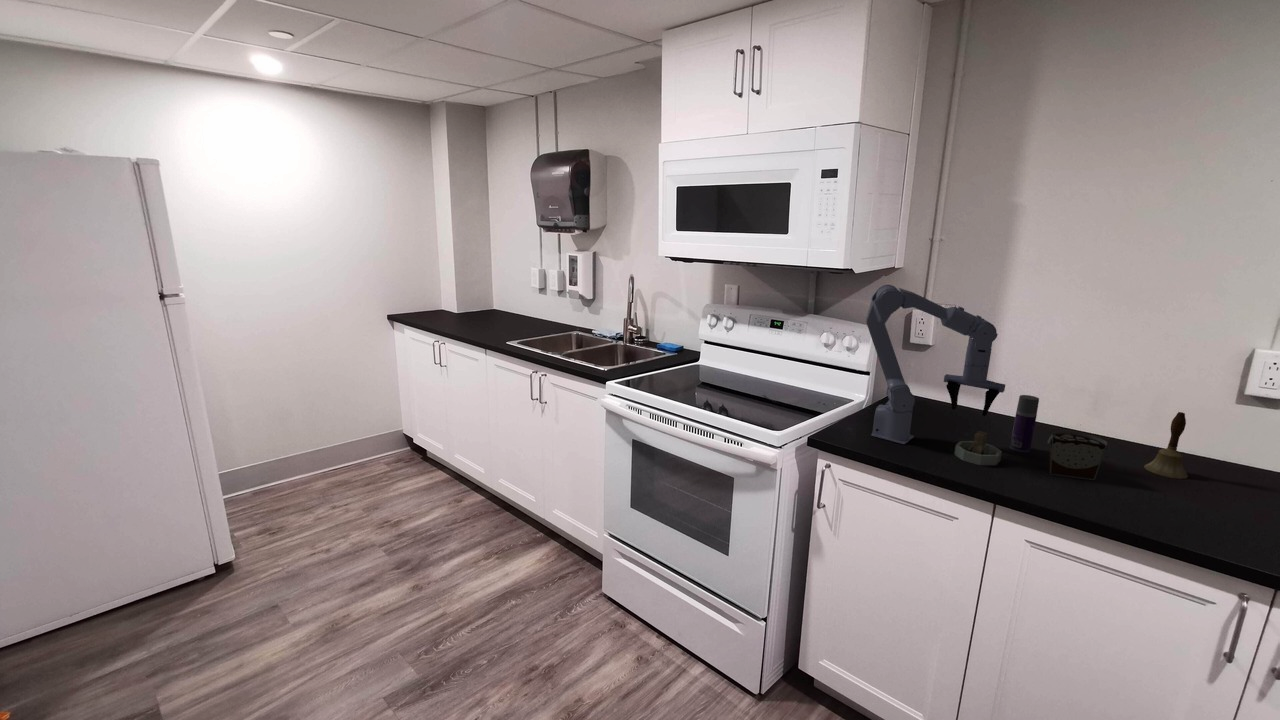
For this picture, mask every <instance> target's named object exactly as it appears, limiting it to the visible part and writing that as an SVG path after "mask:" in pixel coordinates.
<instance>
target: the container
mask: <svg viewBox="0 0 1280 720" xmlns="http://www.w3.org/2000/svg"><path fill="white" fill-rule="evenodd" d="M1018 397H1019V398H1018V401H1017V406H1016V412H1015V417H1014V423H1013V429H1012V433H1011V440H1010V445H1009V448H1010V449H1011V450H1012V451H1016V452H1018V453H1029V452H1030V451H1031V447H1032V442H1033V437H1034V431H1035V426H1036V423H1037V422H1036V421H1037V416H1038V410H1039V402H1040V398H1039V397H1038V396H1034V395H1030V394H1021V395H1019V396H1018Z"/></svg>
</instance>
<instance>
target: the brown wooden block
mask: <svg viewBox="0 0 1280 720" xmlns="http://www.w3.org/2000/svg"><path fill="white" fill-rule="evenodd" d="M987 439H988V432H986V431H984V430H983V431H982V430H978V431H977V432H976V433H975V434H974V438H973V441H974V443H973V449H972V453H976V454H980V455H983V453H984V450H985V444H987Z"/></svg>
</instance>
